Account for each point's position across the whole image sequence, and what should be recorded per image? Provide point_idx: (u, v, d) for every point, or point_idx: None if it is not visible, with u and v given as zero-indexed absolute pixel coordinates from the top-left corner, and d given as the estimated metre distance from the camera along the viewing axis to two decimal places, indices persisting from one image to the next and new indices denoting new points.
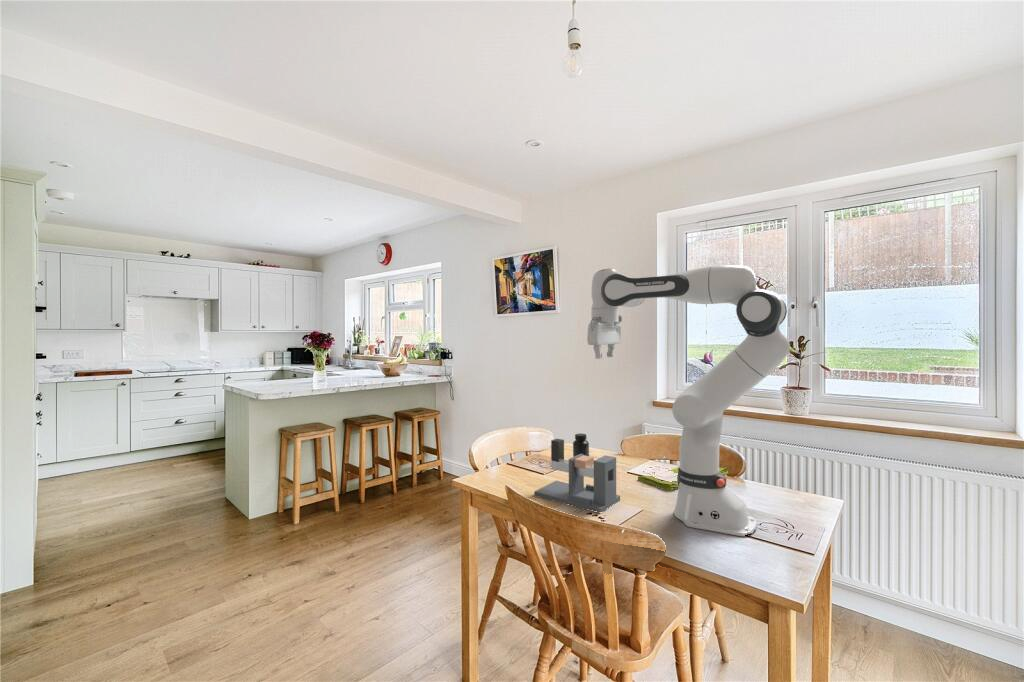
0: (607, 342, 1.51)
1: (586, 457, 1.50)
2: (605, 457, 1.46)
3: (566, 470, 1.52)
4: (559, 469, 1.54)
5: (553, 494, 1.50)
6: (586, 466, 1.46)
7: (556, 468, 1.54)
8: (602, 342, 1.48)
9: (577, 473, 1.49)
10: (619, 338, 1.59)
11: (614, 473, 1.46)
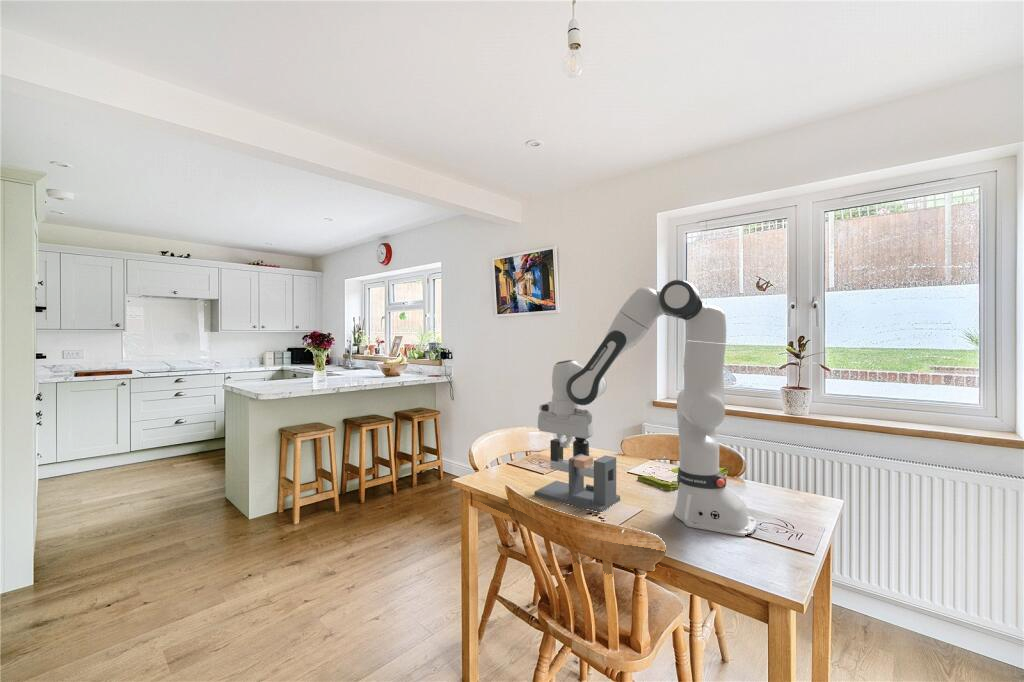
0: None
1: (585, 457, 1.50)
2: (605, 457, 1.46)
3: (565, 470, 1.52)
4: (558, 469, 1.54)
5: (553, 494, 1.50)
6: (585, 466, 1.47)
7: (555, 468, 1.54)
8: None
9: (576, 473, 1.49)
10: None
11: (614, 473, 1.46)
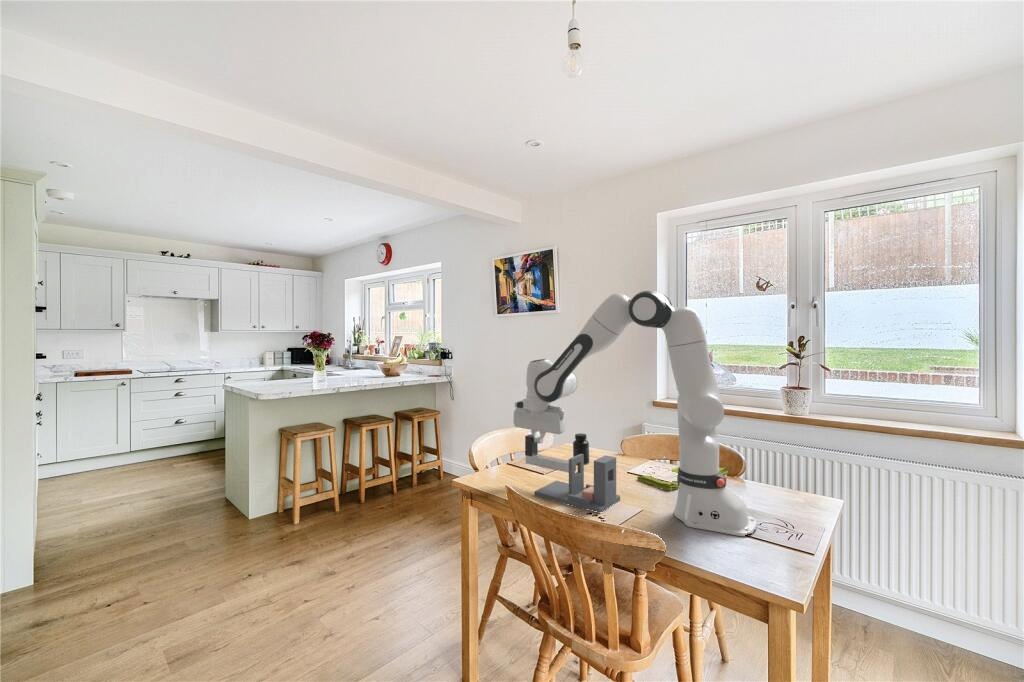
0: None
1: None
2: (605, 457, 1.46)
3: (539, 464, 1.59)
4: (532, 463, 1.60)
5: (553, 494, 1.50)
6: None
7: (530, 462, 1.61)
8: None
9: (549, 467, 1.56)
10: None
11: (614, 473, 1.46)
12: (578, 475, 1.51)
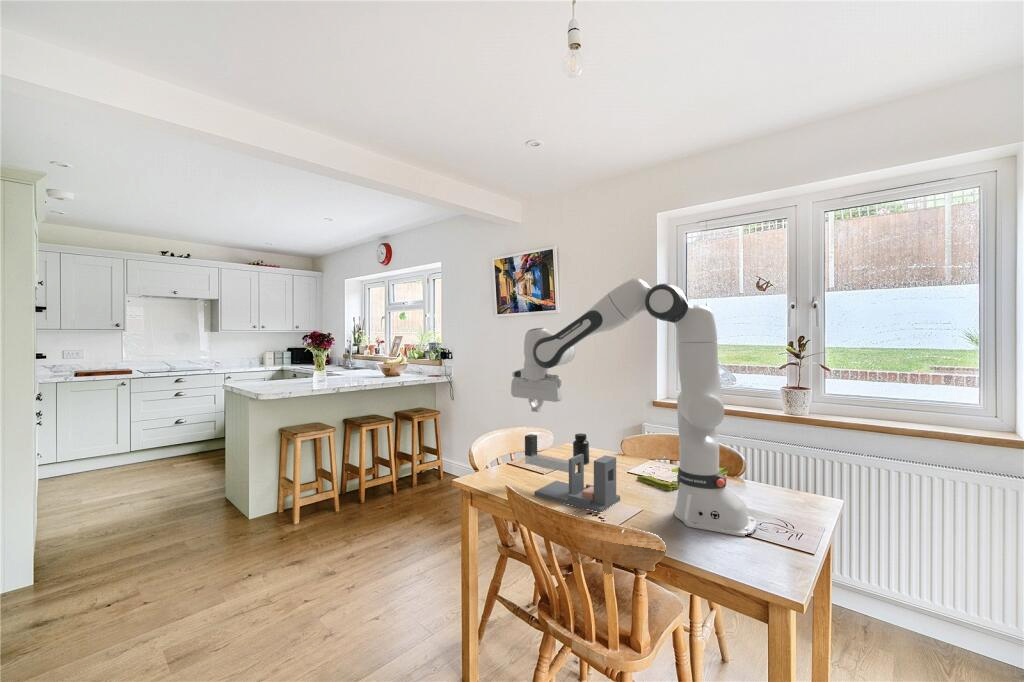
0: None
1: None
2: (605, 457, 1.46)
3: (538, 464, 1.59)
4: (532, 463, 1.61)
5: (553, 494, 1.50)
6: None
7: (529, 462, 1.61)
8: None
9: (548, 467, 1.56)
10: None
11: (614, 473, 1.46)
12: (578, 475, 1.51)
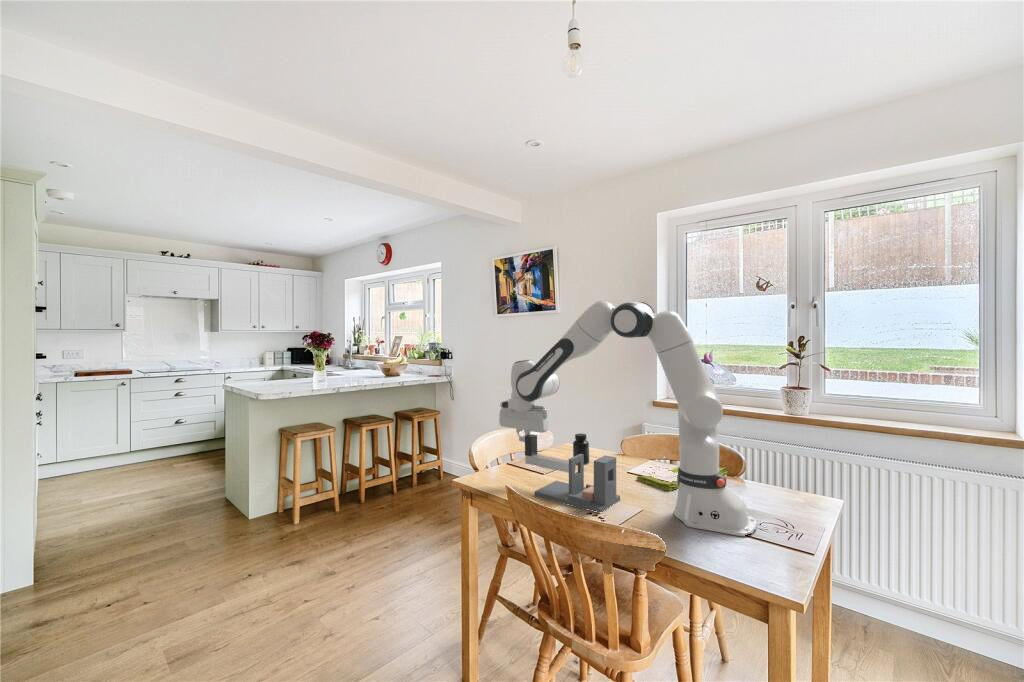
0: None
1: None
2: (605, 457, 1.46)
3: (538, 464, 1.59)
4: (532, 463, 1.60)
5: (553, 494, 1.50)
6: None
7: (529, 462, 1.61)
8: None
9: (548, 467, 1.56)
10: None
11: (614, 473, 1.46)
12: (578, 475, 1.51)
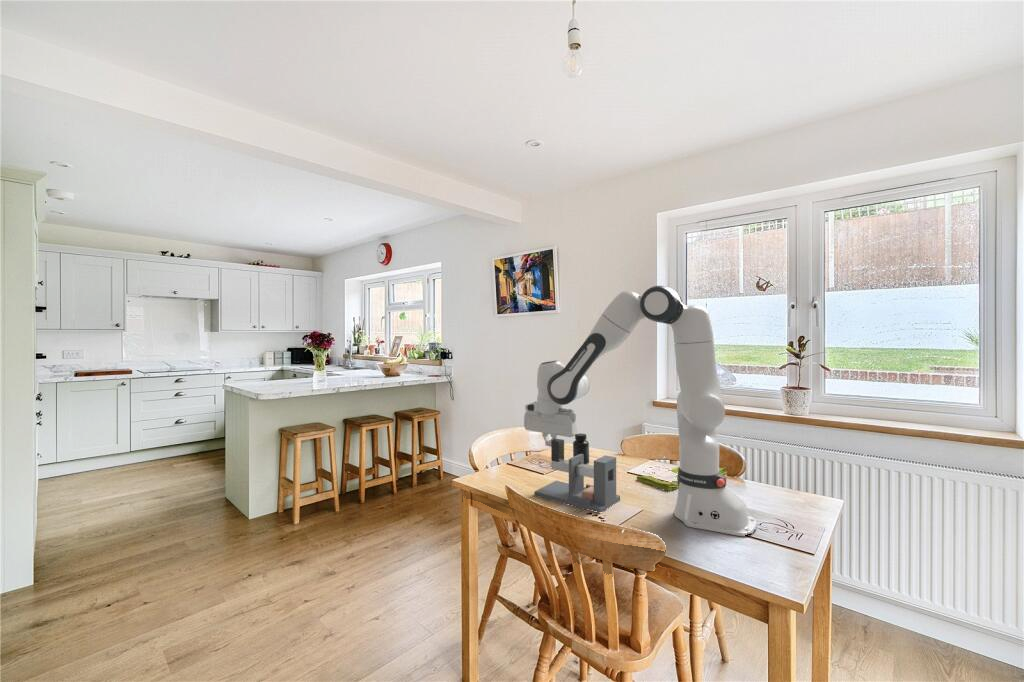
0: None
1: None
2: (605, 457, 1.46)
3: (566, 470, 1.52)
4: (559, 469, 1.53)
5: (553, 494, 1.50)
6: None
7: (556, 468, 1.54)
8: None
9: (577, 473, 1.49)
10: None
11: (614, 473, 1.46)
12: (578, 475, 1.51)
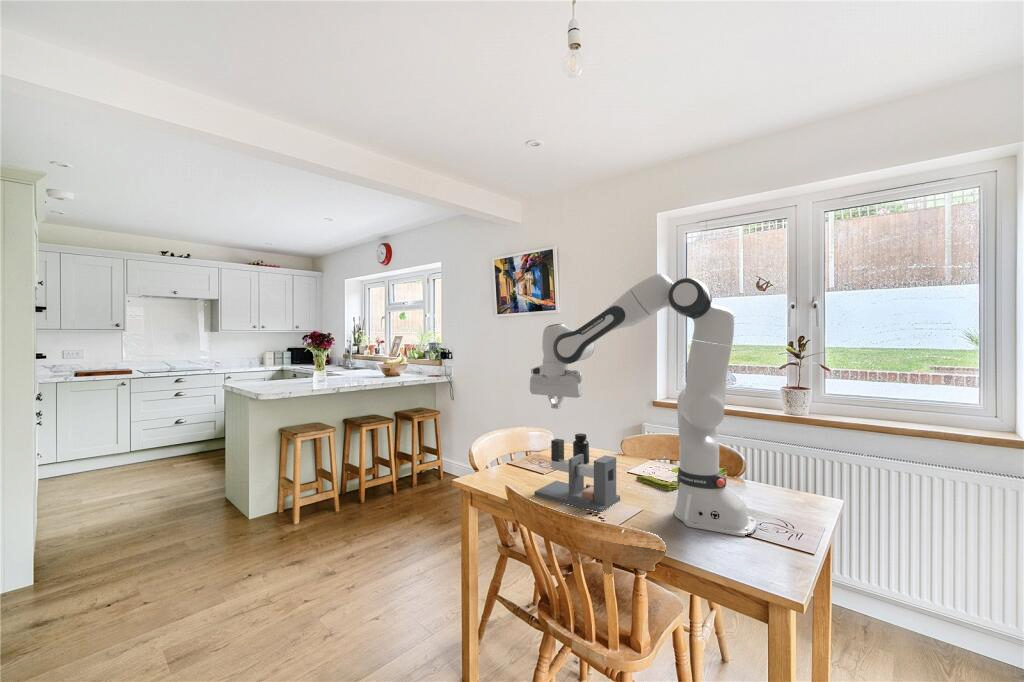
0: None
1: None
2: (605, 457, 1.46)
3: (566, 470, 1.52)
4: (559, 469, 1.54)
5: (553, 494, 1.50)
6: None
7: (556, 468, 1.54)
8: None
9: (577, 473, 1.49)
10: None
11: (614, 473, 1.46)
12: (578, 475, 1.51)
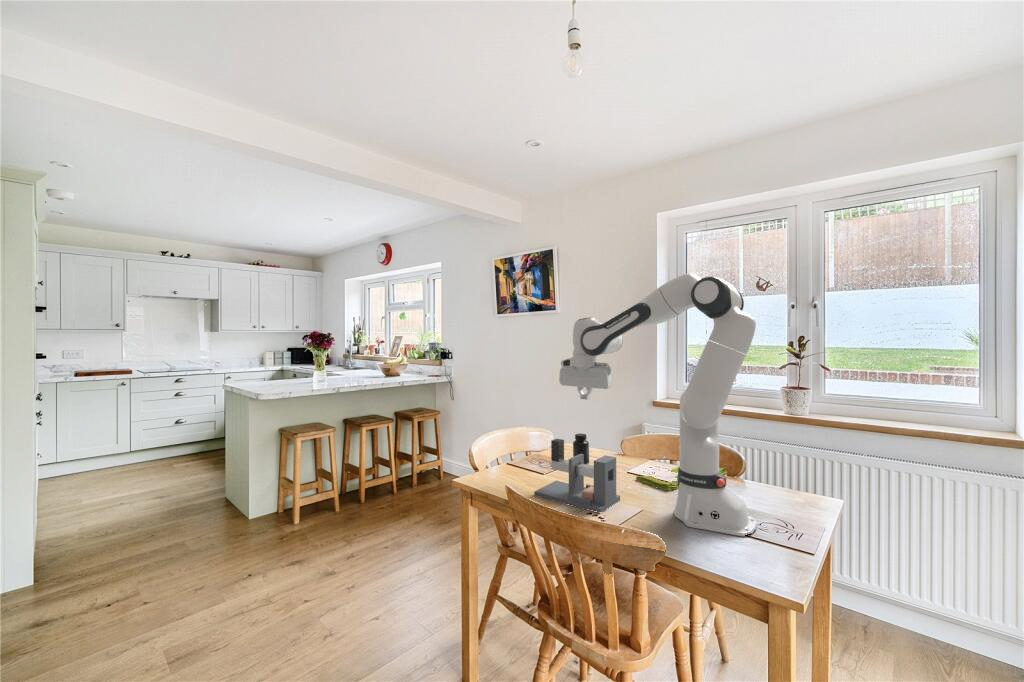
0: None
1: None
2: (605, 457, 1.46)
3: (566, 470, 1.52)
4: (559, 469, 1.54)
5: (553, 494, 1.50)
6: None
7: (556, 468, 1.54)
8: None
9: (577, 473, 1.49)
10: None
11: (614, 473, 1.46)
12: (578, 475, 1.51)
